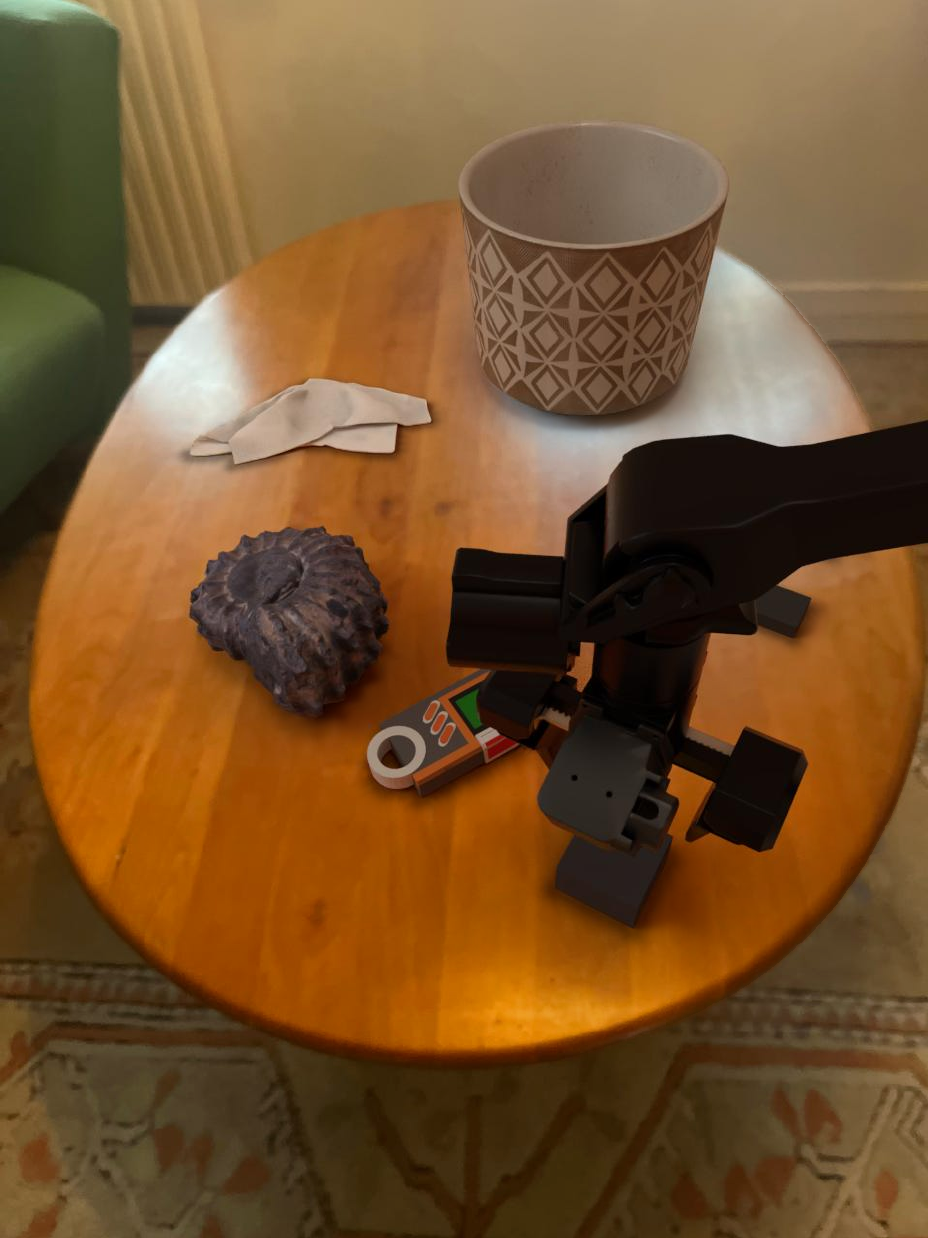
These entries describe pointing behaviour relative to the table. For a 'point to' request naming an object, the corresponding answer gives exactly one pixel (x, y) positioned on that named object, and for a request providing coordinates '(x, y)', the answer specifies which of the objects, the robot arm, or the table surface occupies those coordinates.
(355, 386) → the cloth
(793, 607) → the flat black pad
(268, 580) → the seashell
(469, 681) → the electronic device
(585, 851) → the dark grey square block
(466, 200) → the planter
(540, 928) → the table surface
